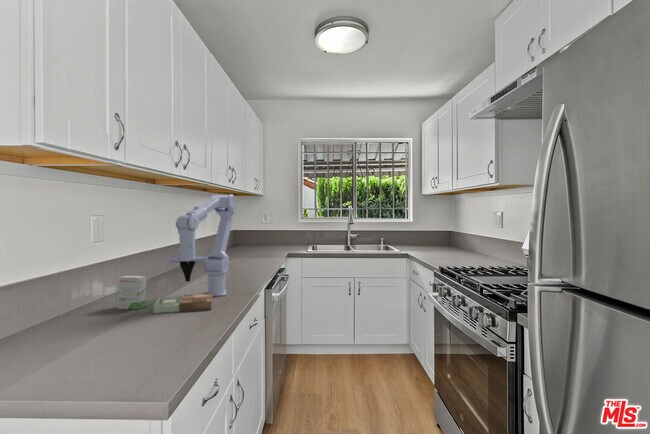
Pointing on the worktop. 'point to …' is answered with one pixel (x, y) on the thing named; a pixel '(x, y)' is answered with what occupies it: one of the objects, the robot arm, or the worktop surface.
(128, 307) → the ink box
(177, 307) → the tray
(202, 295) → the terracotta tile
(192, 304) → the walnut board
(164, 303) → the cream tile
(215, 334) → the worktop surface
